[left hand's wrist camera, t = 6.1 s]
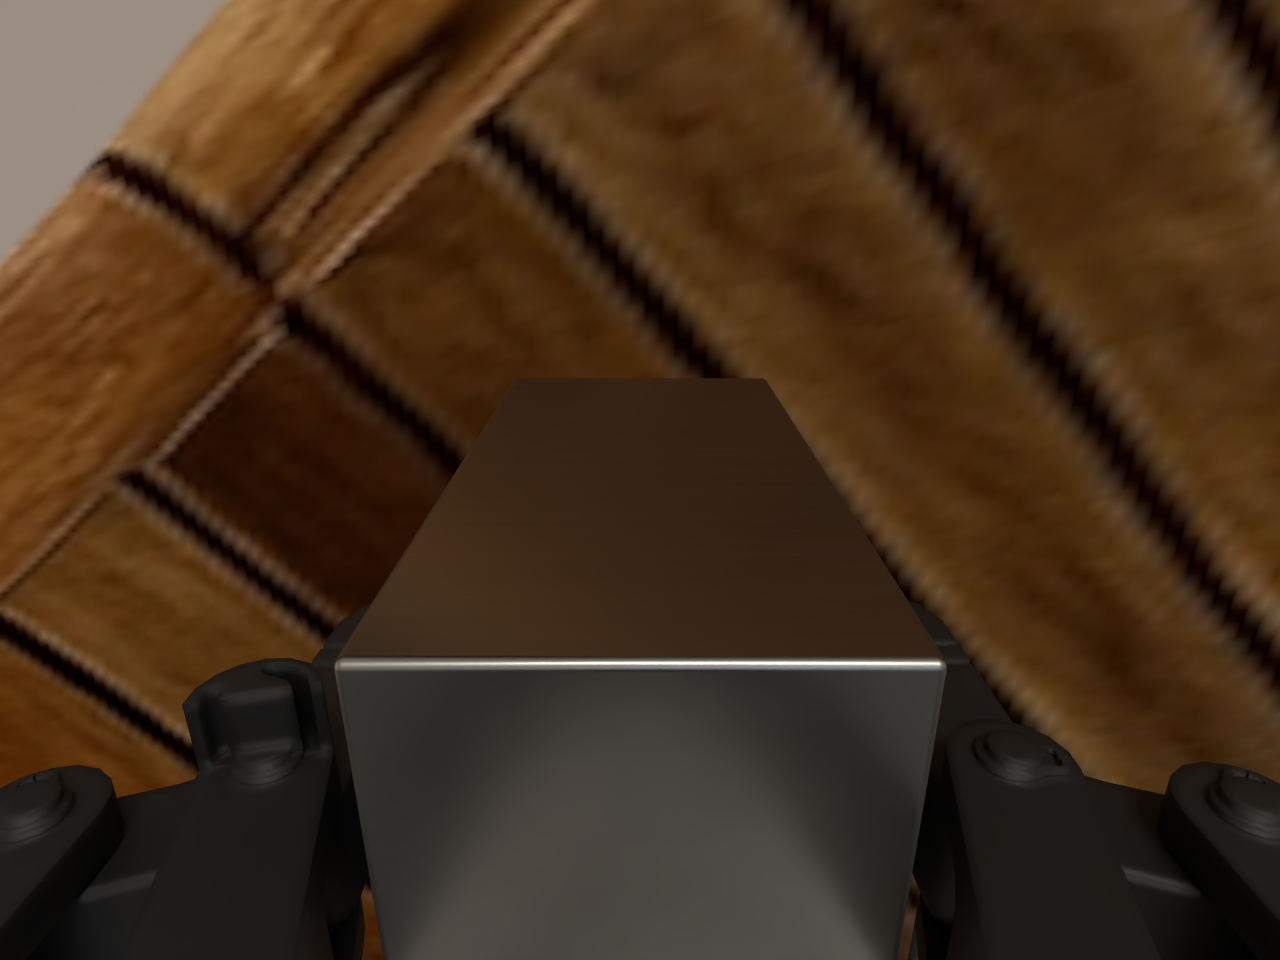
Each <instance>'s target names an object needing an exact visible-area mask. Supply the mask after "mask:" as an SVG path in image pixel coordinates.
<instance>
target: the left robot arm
mask: <svg viewBox="0 0 1280 960" xmlns="http://www.w3.org/2000/svg"><path fill="white" fill-rule="evenodd" d="M909 604H910V605H911V607H912V608H913V610H914V611H915V613H916V614H917V616H918V618H919V619H920V621H921V622H922V624H923V625H924V627H925V628H926V630H927V632H928V633H929V635H930V636H931V638H932V639H933V641H934V642H935V644H936V646H937V647H938V649H939V650H940V652H941V653H942V655H943V656H944V658H945V661H946V664H947V671H946V676H945V682H944V688H943V694H942V700H941V706H940V712H939V717H938V723H937V729H936V735H935V741H934V747H933V753H932V758H931V764H930V770H929V776H928V782H927V788H926V794H925V800H924V805H923V811H922V817H921V823H920V829H919V835H918V841H917V846H916V852H915V858H914V864H913V870H912V873H913V875H914V878H915V881H916V883H917V886H918V888H919V891H920V896H919V902H918V907H917V913H916V919H915V924H914V930H913V936H912V941H911V947H910V952H909V958H908V960H1280V784H1279V783H1277V782H1275V781H1273V780H1271V779H1269V778H1267V777H1265V776H1263V775H1261V774H1258V773H1255V772H1252V771H1250V770H1245V769H1243V768H1238V767H1235V766H1232V765H1226V764H1217V763H1209V762H1199V763H1193V764H1187V765H1182V766H1181V767H1180V768H1179V769H1178V770H1176V771H1175V772H1174V773H1173V774H1172V775H1171V776H1170V780H1169V783H1168V786H1167V789H1166V792H1165V795H1163V794H1159V793H1154V792H1150V791H1145V790H1140V789H1136V788H1131V787H1127V786H1122V785H1118V784H1113V783H1109V782H1105V781H1101V780H1098V779H1094V778H1091V777H1087V776H1084V775H1083V773H1082V771H1081V769H1080V767H1079V766H1078V764H1077V763H1076V762H1075V760H1074V759H1073V757H1072V756H1071V754H1070V753H1069V752H1068V751H1067V750H1065V749H1064V748H1063V747H1061V746H1060V745H1059V744H1058V743H1056V742H1055V741H1054V740H1052V739H1051V738H1050V737H1048V736H1046V735H1044V734H1042V733H1039V732H1037V731H1035V730H1033V729H1031V728H1029V727H1027V726H1024V725H1020V724H1016V723H1013V722H1012V721H1011V719H1010V718H1009V716H1008V715H1007V713H1006V712H1005V711H1004V709H1003V708H1002V706H1001V705H1000V703H999V702H998V700H997V699H996V697H995V696H994V695H993V693H992V692H991V690H990V689H989V687H988V686H987V684H986V683H985V682H984V680H983V679H982V677H981V676H980V674H979V673H978V671H977V670H976V669H975V667H974V666H973V664H970V663H969V658H968V657H967V656H966V654H965V653H964V651H963V650H962V648H961V647H960V646H957V641H956V640H955V638H954V637H953V635H952V634H951V632H950V631H949V630H948V628H947V627H946V625H945V624H944V622H943V621H942V620H941V619H939V618H938V617H936V616H935V615H934V614H932V613H931V612H929V611H928V610H926V609H925V608H923V607H922V606H921V605H919V604H918V603H916V602H909ZM369 607H370V605H364V606H362V607H361V608H360V609H358V610H357V611H355V612H354V613H352V614H351V615H349V616H348V617H347V618H345V619H344V620H342V621H341V622H339V623H338V625H337V626H336V628H335V629H334V630H333V632H332V633H331V635H330V636H329V638H328V639H327V641H326V642H325V644H324V649H320V651H319V652H318V654H317V655H316V657H315V658H314V660H313V661H312V665H311V664H310V663H308V662H304V661H300V660H296V659H292V658H277V659H264V660H259V661H254V662H250V663H245V664H241V665H238V666H236V667H234V668H231V669H229V670H226V671H224V672H221V673H219V674H217V675H215V676H213V677H212V678H210V679H209V680H207V681H206V682H204V683H203V684H201V685H200V686H199V687H197V688H196V689H195V690H194V691H193V692H192V693H191V694H190V696H189V697H188V698H187V699H186V700H185V702H184V703H183V704H182V706H183V710H184V714H185V717H186V721H187V725H188V729H189V733H190V737H191V741H192V744H193V748H194V752H195V756H196V760H197V764H198V768H199V772H198V774H197V777H196V779H194V780H191V781H188V782H184V783H181V784H177V785H173V786H169V787H164V788H160V789H155V790H150V791H146V792H141V793H137V794H132V795H128V796H123V797H119V798H117V797H116V793H115V790H114V787H113V784H112V781H111V778H110V777H108V776H107V775H106V774H105V773H104V772H103V771H102V770H100V769H99V768H93V767H87V766H81V765H75V766H67V767H58V768H51V769H48V770H44V771H41V772H37V773H35V774H31V775H28V776H25V777H22V778H20V779H18V780H16V781H14V782H12V783H10V784H8V785H6V786H4V787H2V788H0V960H362V954H363V945H364V936H365V921H364V914H363V907H362V902H361V893H362V891H363V888H364V886H365V883H366V881H367V878H368V876H369V870H368V864H367V858H366V852H365V846H364V840H363V834H362V828H361V823H360V817H359V811H358V805H357V799H356V793H355V787H354V781H353V775H352V769H351V764H350V758H349V752H348V746H347V740H346V734H345V728H344V722H343V716H342V711H341V705H340V699H339V693H338V687H337V681H336V675H335V668H334V665H335V662H336V658H337V657H338V655H339V654H340V652H341V651H342V649H343V647H344V646H345V644H346V643H347V641H348V640H349V638H350V636H351V635H352V633H353V632H354V630H355V629H356V627H357V626H358V624H359V622H360V621H361V619H362V618H363V616H364V615H365V613H366V611H367V610H368V608H369Z"/></svg>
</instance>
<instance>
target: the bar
mask: <svg viewBox="0 0 1280 960" xmlns="http://www.w3.org/2000/svg"><path fill="white" fill-rule="evenodd" d="M334 668H335V675H336V681H337V687H338V693H339V699H340V705H341V711H342V716H343V722H344V728H345V734H346V740H347V746H348V752H349V758H350V764H351V769H352V775H353V781H354V787H355V793H356V799H357V805H358V811H359V817H360V823H361V828H362V834H363V840H364V846H365V852H366V858H367V864H368V870H369V876H370V881H371V887H372V893H373V899H374V905H375V911H376V917H377V923H378V929H379V935H380V940H381V946H382V952H383V958H384V960H897V958H898V952H899V946H900V940H901V934H902V929H903V923H904V917H905V911H906V905H907V899H908V893H909V888H910V882H911V876H912V870H913V864H914V858H915V852H916V846H917V841H918V835H919V829H920V823H921V817H922V811H923V805H924V800H925V794H926V788H927V782H928V776H929V770H930V764H931V758H932V753H933V747H934V741H935V735H936V729H937V723H938V717H939V712H940V706H941V700H942V694H943V688H944V682H945V676H946V671H947V664H946V661H945V658H944V656H943V655H942V653H941V652H940V650H939V649H938V647H937V646H936V644H935V642H934V641H933V639H932V638H931V636H930V635H929V633H928V632H927V630H926V628H925V627H924V625H923V624H922V622H921V621H920V619H919V618H918V616H917V614H916V613H915V611H914V610H913V608H912V607H911V605H910V604H909V602H908V600H907V599H906V597H905V596H904V594H903V593H902V591H901V590H900V588H899V586H898V585H897V583H896V582H895V580H894V579H893V577H892V576H891V574H890V572H889V571H888V569H887V568H886V566H885V565H884V563H883V562H882V560H881V558H880V557H879V555H878V554H877V552H876V551H875V549H874V548H873V546H872V544H871V543H870V541H869V540H868V538H867V537H866V535H865V534H864V532H863V530H862V529H861V527H860V526H859V524H858V523H857V521H856V520H855V518H854V516H853V515H852V513H851V512H850V510H849V509H848V507H847V506H846V504H845V502H844V501H843V499H842V498H841V496H840V495H839V493H838V492H837V490H836V488H835V487H834V485H833V484H832V482H831V481H830V479H829V478H828V476H827V474H826V473H825V471H824V470H823V468H822V467H821V465H820V464H819V462H818V460H817V459H816V457H815V456H814V454H813V453H812V451H811V450H810V448H809V446H808V445H807V443H806V442H805V440H804V439H803V437H802V436H801V434H800V432H799V431H798V429H797V428H796V426H795V425H794V423H793V422H792V420H791V418H790V417H789V415H788V414H787V412H786V411H785V409H784V408H783V406H782V404H781V403H780V401H779V400H778V398H777V397H776V395H775V394H774V392H773V390H772V389H771V387H770V386H769V384H768V383H767V381H766V380H765V379H516V380H514V382H513V383H512V385H511V386H510V388H509V389H508V391H507V393H506V394H505V396H504V397H503V399H502V400H501V402H500V404H499V405H498V407H497V408H496V410H495V411H494V413H493V414H492V416H491V418H490V419H489V421H488V422H487V424H486V425H485V427H484V429H483V430H482V432H481V433H480V435H479V436H478V438H477V440H476V441H475V443H474V444H473V446H472V447H471V449H470V450H469V452H468V454H467V455H466V457H465V458H464V460H463V461H462V463H461V465H460V466H459V468H458V469H457V471H456V472H455V474H454V475H453V477H452V479H451V480H450V482H449V483H448V485H447V486H446V488H445V490H444V491H443V493H442V494H441V496H440V497H439V499H438V500H437V502H436V504H435V505H434V507H433V508H432V510H431V511H430V513H429V515H428V516H427V518H426V519H425V521H424V522H423V524H422V525H421V527H420V529H419V530H418V532H417V533H416V535H415V536H414V538H413V540H412V541H411V543H410V544H409V546H408V547H407V549H406V551H405V552H404V554H403V555H402V557H401V558H400V560H399V561H398V563H397V565H396V566H395V568H394V569H393V571H392V572H391V574H390V576H389V577H388V579H387V580H386V582H385V583H384V585H383V586H382V588H381V590H380V591H379V593H378V594H377V596H376V597H375V599H374V601H373V602H372V604H371V605H370V607H369V608H368V610H367V611H366V613H365V615H364V616H363V618H362V619H361V621H360V622H359V624H358V626H357V627H356V629H355V630H354V632H353V633H352V635H351V636H350V638H349V640H348V641H347V643H346V644H345V646H344V647H343V649H342V651H341V652H340V654H339V655H338V657H337V658H336V662H335V665H334Z"/></svg>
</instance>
